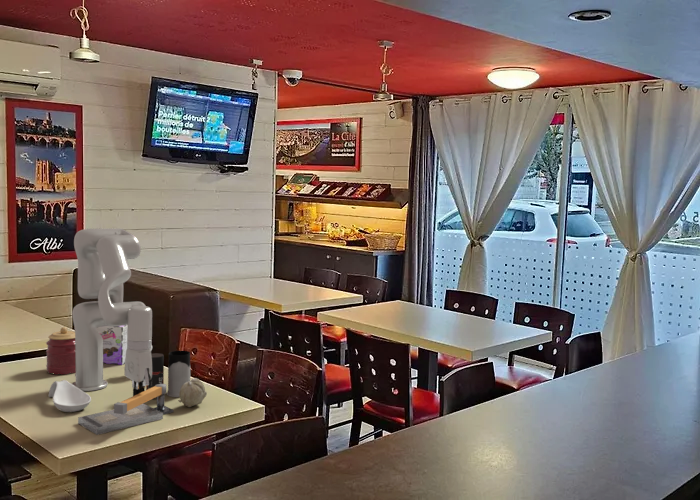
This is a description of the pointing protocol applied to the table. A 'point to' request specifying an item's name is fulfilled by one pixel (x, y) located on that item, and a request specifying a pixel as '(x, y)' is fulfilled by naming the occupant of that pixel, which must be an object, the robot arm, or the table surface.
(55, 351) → the canister
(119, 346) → the candy box
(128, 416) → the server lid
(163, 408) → the post
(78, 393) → the spoon rest
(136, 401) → the orange and grey bar
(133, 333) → the robot arm
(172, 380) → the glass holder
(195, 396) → the garlic bulb
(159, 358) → the deodorant
